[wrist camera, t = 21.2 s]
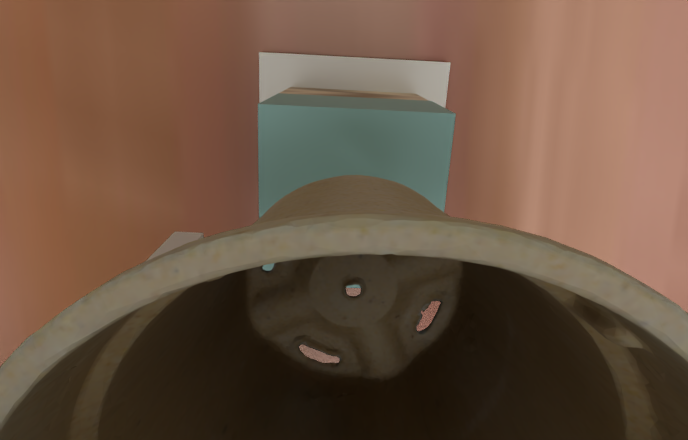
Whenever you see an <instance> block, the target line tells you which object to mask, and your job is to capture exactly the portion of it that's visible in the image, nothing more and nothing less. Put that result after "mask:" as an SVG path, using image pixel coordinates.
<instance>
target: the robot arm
mask: <svg viewBox="0 0 688 440" xmlns="http://www.w3.org/2000/svg"><path fill="white" fill-rule="evenodd" d="M202 238H204V236H203V233H193V232H174V233H173V234H172V235H171V236H170V237H169V238H168V239H167V240H166V241H165V242H164V243H163V244H162V245H161V246H160V247H159V248H158V249H157V250H156V251H155V252H154V253H153V254H152V255H151V256H150V257H149V258H148V259H147V260H146V261H148V260H150V259H152V258H154V257H156V256H159V255H161V254H163V253H166V252H168V251H170V250H172V249H175V248H177V247H179V246H182V245H184V244H186V243H189V242H192V241H195V240H199V239H202ZM146 261H145V262H146Z"/></svg>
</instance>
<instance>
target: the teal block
mask: <svg viewBox="0 0 688 440" xmlns="http://www.w3.org/2000/svg"><path fill="white" fill-rule="evenodd" d="M455 116H456V114H455V113H453V112H452V111H450V110H448V109H446V108H444V107H442V106H440V105H438V104H436V103H435V102H433V101H424V100H403V99H383V98H363V97H343V96H323V95H302V94H282V93H278V94H276V95H274V96H272V97H270V98H268V99H266V100H265V101H263V102H261V103H259V104H258V167H259V218H260V217H261V216H263V215H264V214H265V213H266V212H267V210H268V209H269V208H270V207H272V206H273V205H274V204H275V203H276V202H277V201H279V200H280V199H281V198H283V197H284V196H285V195H287V194H289V193H291V192H292V191H294V190H296V189H298V188H300V187H302V186H304V185H306V184H309V183H312V182H315V181H318V180H322V179H327V178H332V177H337V176H343V175H364V176H372V177H378V178H382V179H387V180H390V181H394V182H397V183H400V184H402V185H405V186H407V187H409V188H411V189H413V190H414V191H416V192H417V193H419V194H421V195H422V196H424V197H425V198H426V199H428V200H429V201H430V202H431V203H433V204H434V205H435V206H436V207H437V208H439V209H440V210H442V211H443V212H444V208H445V200H446V191H447V183H448V175H449V166H450V158H451V150H452V141H453V133H454V124H455ZM273 266H274V263H272V264H267V265H263V267H262V268H263V270H266V271H270V270H272V268H273ZM347 288H361V287H360V286H359V285H350V286H347Z"/></svg>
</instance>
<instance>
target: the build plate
mask: <svg viewBox="0 0 688 440" xmlns="http://www.w3.org/2000/svg"><path fill="white" fill-rule="evenodd" d="M450 63H451V62H433V61H415V60H396V59H378V58H359V57H341V56H323V55H304V54H286V53H267V52H259V103H261V102H263V101H265V100H266V99H268V98H270V97H272V96H274V95H276V94H278V93H280V92H282V91H284V90H286V89H288V88H289V87H302V88H321V89H339V90H358V91H377V92H395V93H414V94H417V95H419V96H421V97H423V98H425V99H426V100H428V101H433V102H435V103H436V104H438V105H440V106H442V107H444V108H445V106H446V97H447V89H448V80H449V71H450Z"/></svg>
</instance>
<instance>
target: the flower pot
mask: <svg viewBox="0 0 688 440" xmlns="http://www.w3.org/2000/svg"><path fill="white" fill-rule="evenodd" d="M272 263H274V266H273V268H272V270H270V271H266V270H263V268H262V267H263V265H267V264H272ZM350 285H359V286H360V287H361V293H360V294H359V295H357V296H349V295H348V294H347V293H346V287H347V286H350ZM431 301H440V302H441V304H440V305H439V309H438V311H437V313H436V315H435V316H434V318H433V320H432V322H431V324H430V325H429V326H428V327H427V328H426V329H424V330H422V331H417V329H416V326H417V325H418V324H419V322H420V320H421V318H422V314H421V310H423V312H424V311H425V310H426V309H427V308H428V306H429V305H430V304H431ZM301 344H303V345H306V346H308V347H310V348H313V349H315V350H318V351H321V352H323V353H325V354H327V355H331V356H337V357H339V358H340V360H339V363H322V362H318V361H317V360H314V359H310V358H309V357H307V356H305V355H304V354H303V353H302V352H301V351H300V349H299V346H300V345H301ZM0 440H688V313H687V312H685V311H684V310H683V309H682V308H681V307H680V306H679V305H677V304H676V303H674V302H672V301H671V300H669V299H668V298H666V297H665V296H663V295H662V294H660V293H658V292H657V291H655V290H654V289H652V288H650V287H649V286H647V285H646V284H644V283H642V282H640V281H639V280H637V279H635V278H633V277H632V276H630V275H628V274H626V273H624V272H623V271H621V270H619V269H617V268H615V267H614V266H612V265H610V264H608V263H606V262H604V261H602V260H600V259H598V258H596V257H594V256H592V255H589V254H587V253H584V252H582V251H579V250H577V249H574V248H571V247H569V246H566V245H564V244H561V243H559V242H556V241H553V240H551V239H548V238H546V237H542V236H538V235H534V234H531V233H527V232H523V231H520V230H516V229H512V228H509V227H505V226H501V225H495V224H489V223H483V222H478V221H473V220H468V219H463V218H455V217H450V216H448V215H447V214H446V213H444V212H443V211H442V210H440V209H439V208H437V207H436V206H435V205H434V204H433V203H431V202H430V201H429V200H428V199H426V198H425V197H424V196H422V195H421V194H419V193H417V192H416V191H414V190H413V189H411V188H409V187H407V186H405V185H402V184H400V183H397V182H394V181H390V180H387V179H382V178H378V177H372V176H364V175H343V176H337V177H332V178H327V179H322V180H318V181H315V182H312V183H309V184H306V185H304V186H302V187H300V188H298V189H296V190H294V191H292V192H291V193H289V194H287V195H285V196H284V197H283V198H281V199H280V200H279V201H277V202H276V203H275V204H274V205H273V206H272V207H270V208H269V209H268V210H267V212H266V213H265V214H264V215H263V216H261V217H260V218H259V219H258V220H257V221H256V222H255V223H254V224H253V225H251V226H247V227H243V228H239V229H235V230H230V231H226V232H222V233H219V234H215V235H212V236H209V237H205V238H202V239H199V240H195V241H192V242H189V243H186V244H184V245H182V246H179V247H177V248H175V249H172V250H170V251H168V252H166V253H163V254H161V255H159V256H156V257H154V258H152V259H150V260H148V261H146V262H144V263H141V264H139V265H137V266H135V267H133V268H131V269H129V270H127V271H125V272H123V273H121V274H119V275H117V276H116V277H114V278H113V279H111V280H109V281H108V282H106V283H105V284H103V285H101V286H100V287H98V288H97V289H95V290H93V291H92V292H90V293H89V294H87V295H86V296H84V297H83V298H81V299H80V300H78V301H77V302H75V303H74V304H72V305H71V306H69V307H68V308H66V309H65V310H63V311H62V312H61V313H59V314H58V315H57V316H55V317H54V318H53V319H52V320H50V321H49V322H48V323H47V324H45V325H44V326H43V327H42V328H41V329H39V330H38V331H36V332H35V333H33V334H32V335H31V336H29V337H28V338H27V339H26V340H25V341H24V342H23V343H22V344H21V345H20V346H19V347H18V348H17V349H16V350H15V351H14V352H13V353H12V354H11V356H10V357H9V358H8V359H7V360H6V361H5V362H4V363H3V364H2V366H1V367H0Z"/></svg>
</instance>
